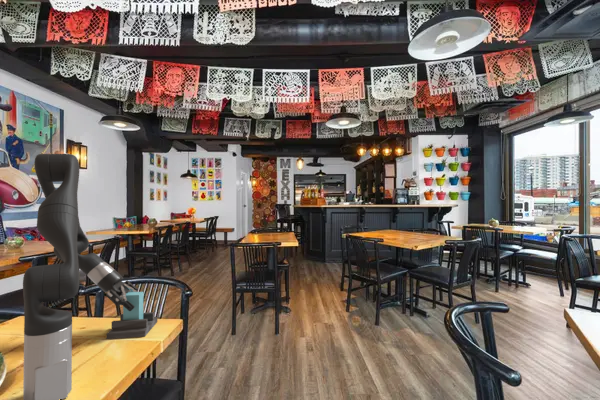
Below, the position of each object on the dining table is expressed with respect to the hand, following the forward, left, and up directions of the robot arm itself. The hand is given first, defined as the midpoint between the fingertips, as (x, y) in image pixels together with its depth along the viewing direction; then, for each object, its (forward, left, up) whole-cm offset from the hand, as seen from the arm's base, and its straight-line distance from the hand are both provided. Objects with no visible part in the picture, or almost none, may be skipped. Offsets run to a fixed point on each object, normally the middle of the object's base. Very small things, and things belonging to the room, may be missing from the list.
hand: (137, 305), depth 111 cm
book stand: (+1, +1, -9) cm, 10 cm away
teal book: (+1, +1, -7) cm, 8 cm away
